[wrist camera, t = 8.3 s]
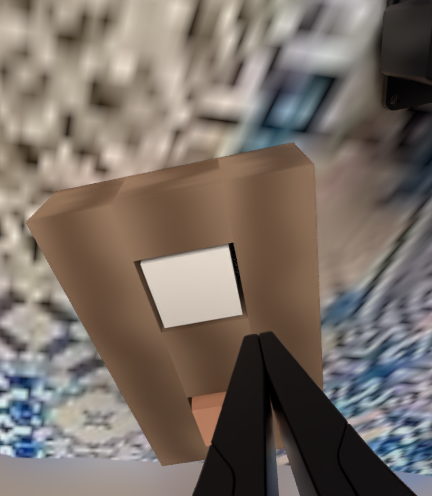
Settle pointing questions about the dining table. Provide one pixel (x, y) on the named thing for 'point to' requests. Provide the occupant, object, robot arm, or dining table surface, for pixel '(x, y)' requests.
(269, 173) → the button panel
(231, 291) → the white square block
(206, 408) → the terracotta plunger
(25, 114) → the dining table surface
